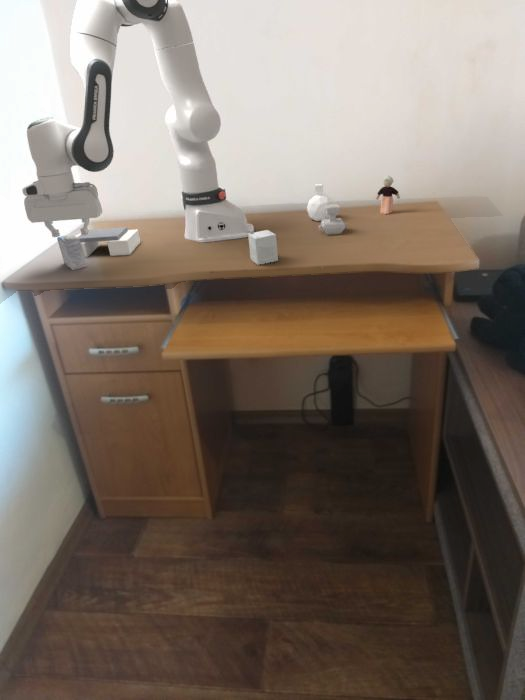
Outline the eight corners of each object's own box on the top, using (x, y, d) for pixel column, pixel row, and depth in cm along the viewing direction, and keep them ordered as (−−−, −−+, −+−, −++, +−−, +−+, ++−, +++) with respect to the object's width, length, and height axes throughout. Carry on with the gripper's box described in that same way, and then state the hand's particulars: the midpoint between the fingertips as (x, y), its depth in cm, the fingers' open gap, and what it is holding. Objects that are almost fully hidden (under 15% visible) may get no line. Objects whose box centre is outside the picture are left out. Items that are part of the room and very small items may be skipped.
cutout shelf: (140, 245, 167) (137, 225, 164) (130, 256, 156) (126, 236, 153) (83, 248, 168) (78, 229, 165) (68, 260, 158) (63, 240, 155)
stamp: (319, 237, 158) (318, 209, 154) (317, 232, 164) (316, 204, 160) (349, 235, 158) (349, 206, 154) (346, 229, 163) (345, 202, 160)
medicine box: (88, 267, 150) (80, 238, 146) (72, 272, 148) (64, 242, 144) (79, 261, 156) (71, 233, 152) (64, 265, 154) (56, 237, 149)
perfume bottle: (308, 219, 179) (306, 182, 173) (335, 217, 177) (334, 181, 172) (306, 225, 171) (304, 188, 165) (334, 224, 170) (333, 186, 164)
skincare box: (278, 261, 141) (276, 234, 138) (257, 265, 140) (255, 238, 136) (270, 255, 146) (268, 229, 143) (249, 259, 145) (247, 233, 141)
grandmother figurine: (375, 216, 174) (376, 177, 168) (375, 214, 177) (376, 175, 171) (399, 216, 172) (401, 176, 167) (398, 213, 176) (400, 173, 170)
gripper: (98, 179, 142) (110, 229, 149) (26, 185, 144) (41, 234, 151) (90, 183, 137) (103, 235, 143) (16, 190, 139) (31, 241, 145)
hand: (70, 235), depth 147 cm, fingers open, 7 cm apart
